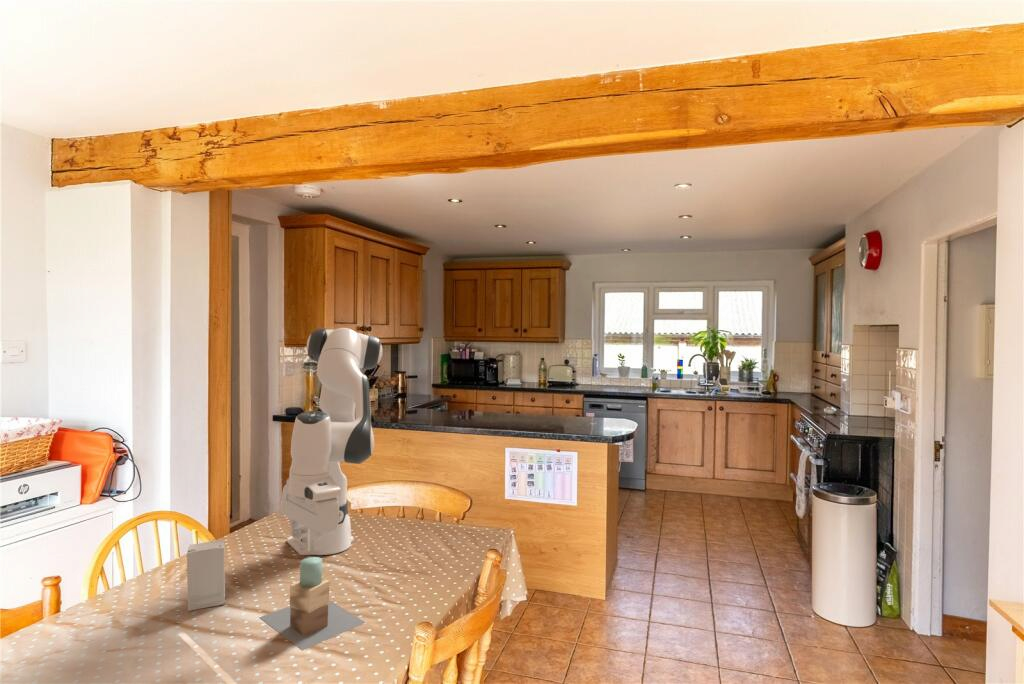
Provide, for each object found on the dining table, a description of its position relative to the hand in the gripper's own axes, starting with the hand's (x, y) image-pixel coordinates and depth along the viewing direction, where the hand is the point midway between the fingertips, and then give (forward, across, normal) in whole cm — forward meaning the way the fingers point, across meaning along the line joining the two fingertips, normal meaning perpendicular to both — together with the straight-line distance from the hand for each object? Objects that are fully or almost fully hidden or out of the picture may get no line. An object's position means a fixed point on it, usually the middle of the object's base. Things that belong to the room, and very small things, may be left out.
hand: (306, 543), depth 127 cm
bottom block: (+19, +1, +1) cm, 19 cm away
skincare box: (+21, -28, -11) cm, 37 cm away
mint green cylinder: (+9, +1, +1) cm, 9 cm away
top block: (+14, +1, +1) cm, 14 cm away
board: (+20, -1, +3) cm, 20 cm away
